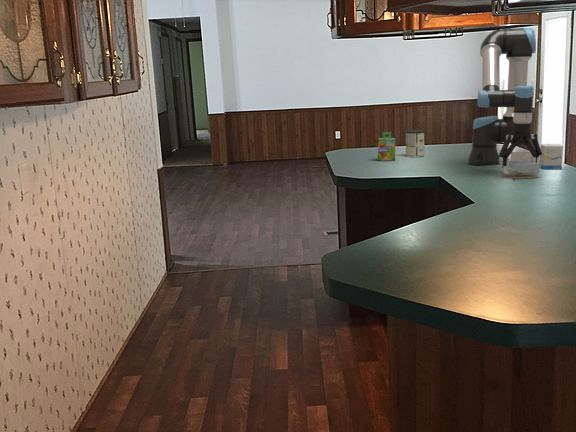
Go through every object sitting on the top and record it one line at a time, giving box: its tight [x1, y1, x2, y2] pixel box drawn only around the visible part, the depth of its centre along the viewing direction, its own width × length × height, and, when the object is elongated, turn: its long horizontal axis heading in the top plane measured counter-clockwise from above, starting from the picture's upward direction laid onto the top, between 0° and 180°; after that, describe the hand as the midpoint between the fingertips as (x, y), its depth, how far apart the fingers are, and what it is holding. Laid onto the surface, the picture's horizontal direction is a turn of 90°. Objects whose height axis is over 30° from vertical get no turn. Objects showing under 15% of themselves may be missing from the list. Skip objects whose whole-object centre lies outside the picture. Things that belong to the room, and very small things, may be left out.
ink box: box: [539, 143, 564, 171], centre depth 291 cm, size 9×8×12 cm
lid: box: [499, 160, 541, 173], centre depth 272 cm, size 12×12×3 cm
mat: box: [501, 173, 538, 180], centre depth 273 cm, size 10×11×1 cm
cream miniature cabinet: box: [405, 129, 426, 158], centre depth 346 cm, size 10×10×14 cm
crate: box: [509, 150, 540, 174], centre depth 285 cm, size 10×8×9 cm
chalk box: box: [377, 131, 397, 162], centre depth 333 cm, size 9×9×15 cm
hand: (519, 172), depth 272 cm, fingers closed on lid, 12 cm apart
